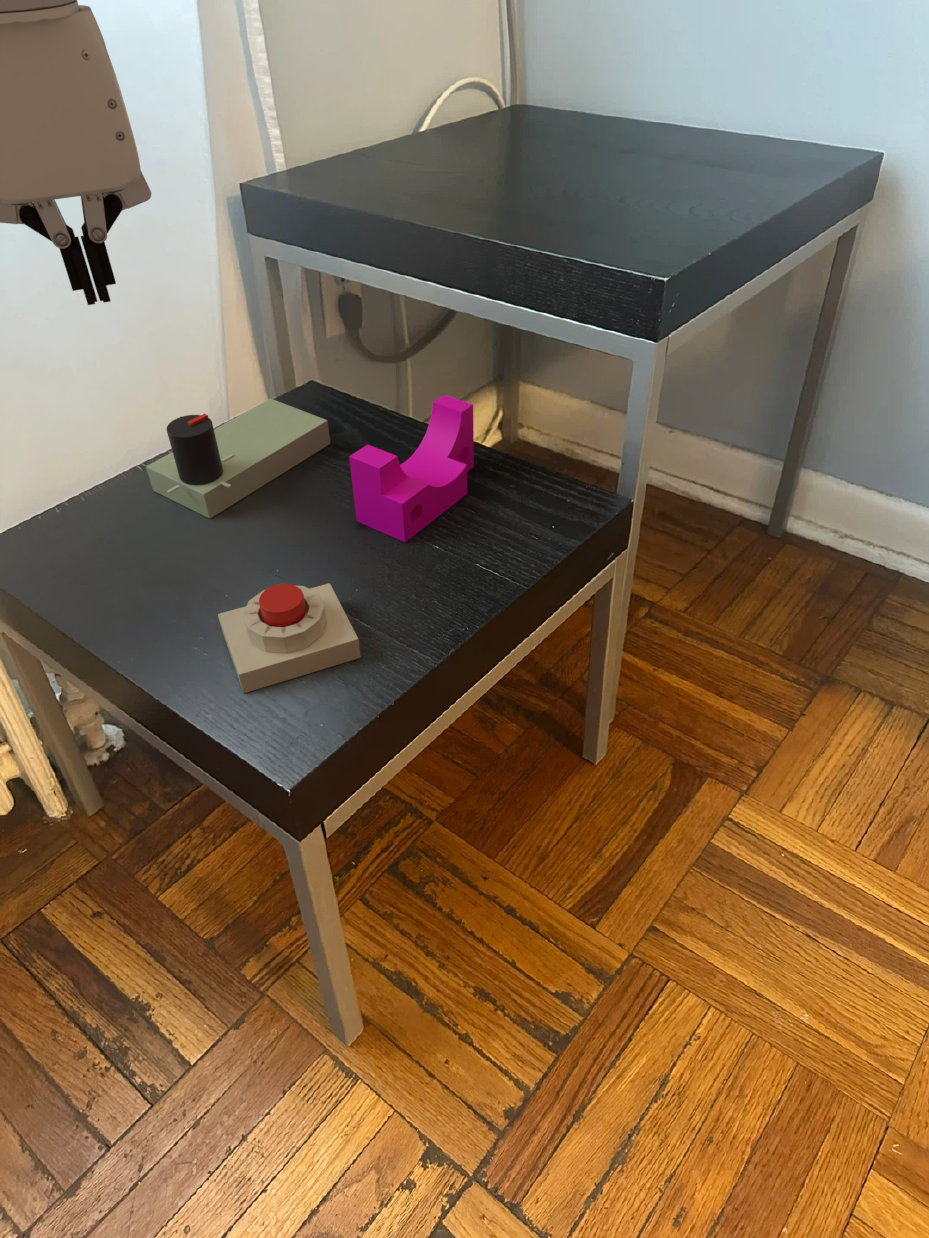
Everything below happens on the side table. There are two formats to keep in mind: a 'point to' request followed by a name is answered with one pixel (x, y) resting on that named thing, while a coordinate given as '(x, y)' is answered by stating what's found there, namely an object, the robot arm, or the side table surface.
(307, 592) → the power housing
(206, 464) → the timer dial
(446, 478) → the toy block
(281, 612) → the power button
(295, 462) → the dial panel
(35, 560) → the side table surface
